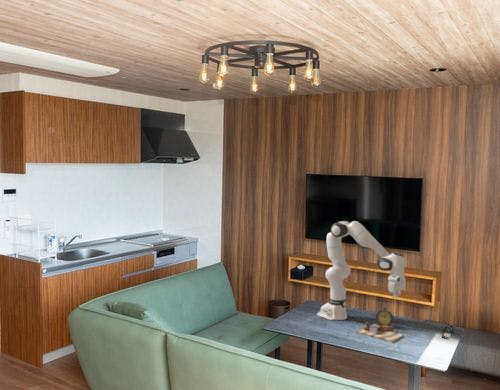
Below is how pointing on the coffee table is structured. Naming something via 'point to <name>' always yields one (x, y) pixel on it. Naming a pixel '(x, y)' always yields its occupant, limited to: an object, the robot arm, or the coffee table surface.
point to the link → (382, 328)
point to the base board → (382, 335)
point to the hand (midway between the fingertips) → (397, 296)
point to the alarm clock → (384, 317)
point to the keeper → (374, 328)
